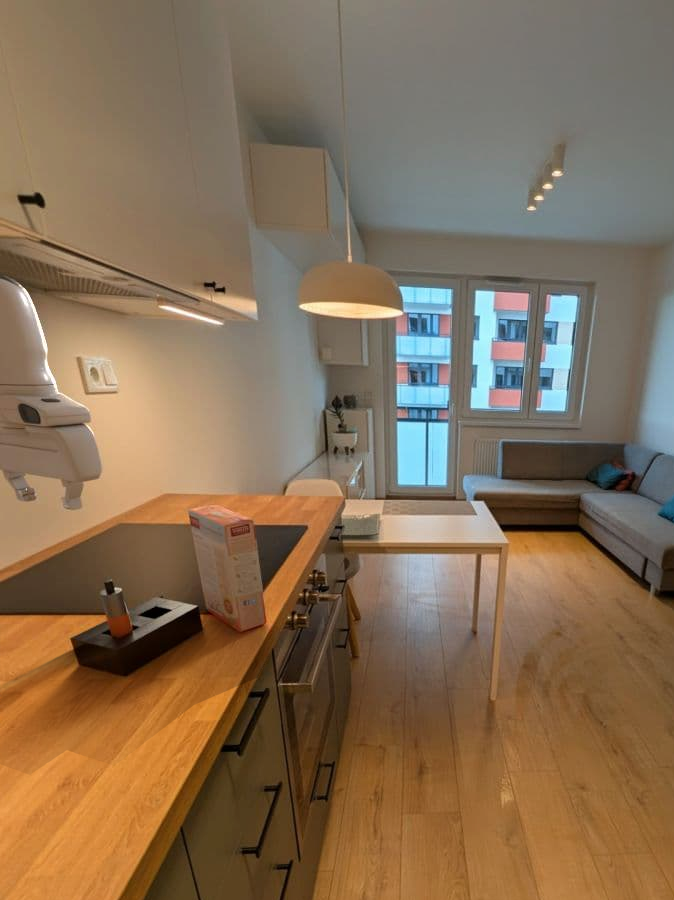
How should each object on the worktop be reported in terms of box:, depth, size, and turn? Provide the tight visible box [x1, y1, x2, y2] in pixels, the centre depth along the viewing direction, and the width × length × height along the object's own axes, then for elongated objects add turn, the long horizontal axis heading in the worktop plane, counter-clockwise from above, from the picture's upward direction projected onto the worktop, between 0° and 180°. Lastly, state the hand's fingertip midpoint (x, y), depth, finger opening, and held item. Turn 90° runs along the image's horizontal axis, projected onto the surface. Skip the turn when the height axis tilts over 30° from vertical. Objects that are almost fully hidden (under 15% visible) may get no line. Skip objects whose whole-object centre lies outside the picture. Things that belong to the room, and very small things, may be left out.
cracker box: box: [187, 504, 268, 633], centre depth 95 cm, size 14×6×21 cm, turn 48°
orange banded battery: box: [99, 579, 133, 638], centre depth 83 cm, size 3×3×14 cm
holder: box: [69, 596, 204, 678], centre depth 88 cm, size 10×17×5 cm, turn 162°
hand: (50, 504), depth 76 cm, fingers open, 8 cm apart
